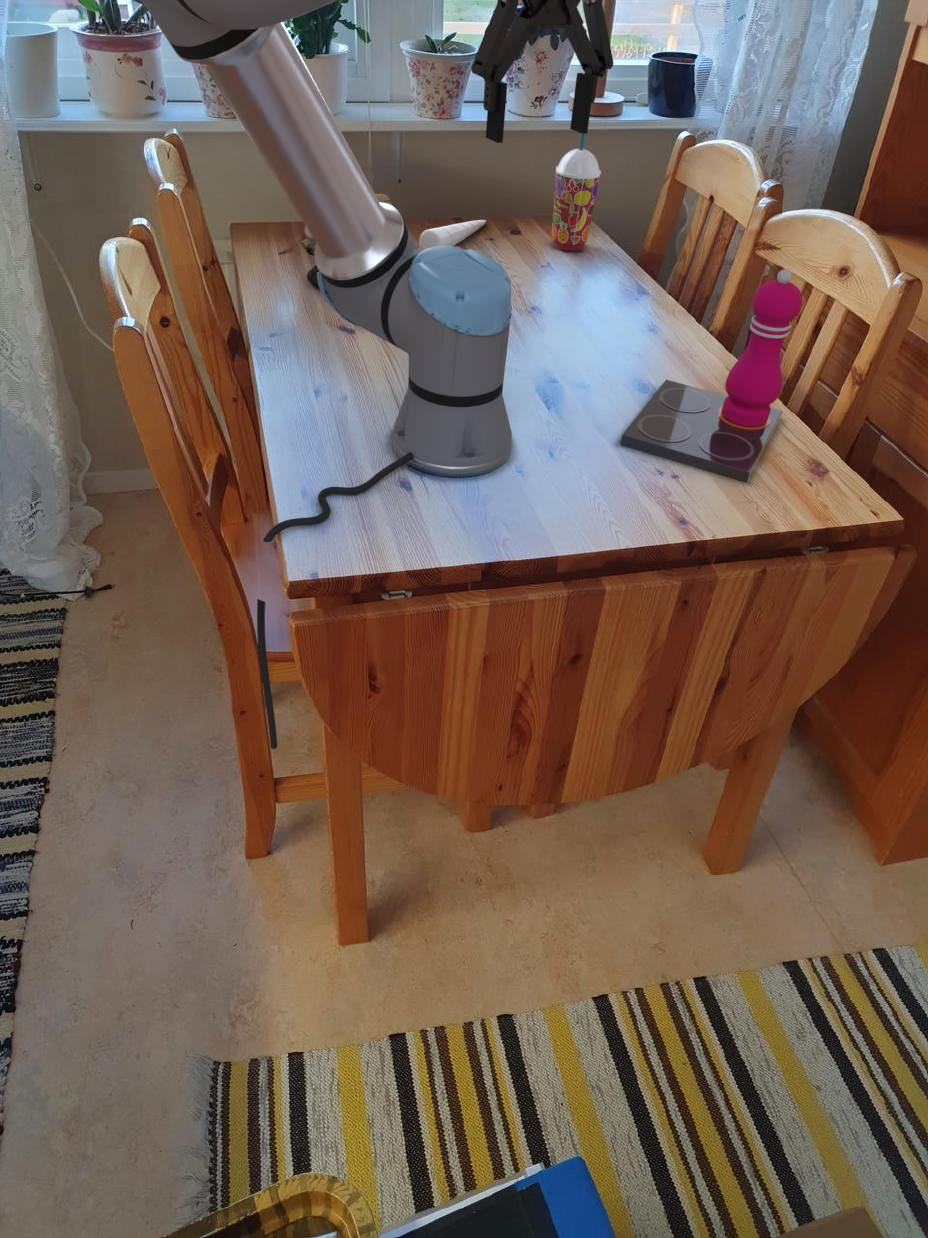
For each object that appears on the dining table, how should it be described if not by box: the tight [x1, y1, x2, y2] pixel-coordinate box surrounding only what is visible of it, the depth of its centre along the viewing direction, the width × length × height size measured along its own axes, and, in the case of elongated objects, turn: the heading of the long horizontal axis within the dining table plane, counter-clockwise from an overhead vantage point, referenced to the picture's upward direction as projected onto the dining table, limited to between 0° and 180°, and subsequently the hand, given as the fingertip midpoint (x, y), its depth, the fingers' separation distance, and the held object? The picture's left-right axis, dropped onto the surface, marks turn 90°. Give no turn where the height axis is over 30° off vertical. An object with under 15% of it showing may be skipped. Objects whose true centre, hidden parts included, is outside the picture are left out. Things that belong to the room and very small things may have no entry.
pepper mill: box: [722, 268, 803, 427], centre depth 120 cm, size 7×7×20 cm
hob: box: [619, 379, 783, 483], centre depth 125 cm, size 19×17×2 cm
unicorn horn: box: [418, 219, 487, 250], centre depth 175 cm, size 5×24×5 cm, turn 149°
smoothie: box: [551, 133, 602, 252], centre depth 172 cm, size 8×8×20 cm
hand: (537, 135), depth 119 cm, fingers open, 13 cm apart
